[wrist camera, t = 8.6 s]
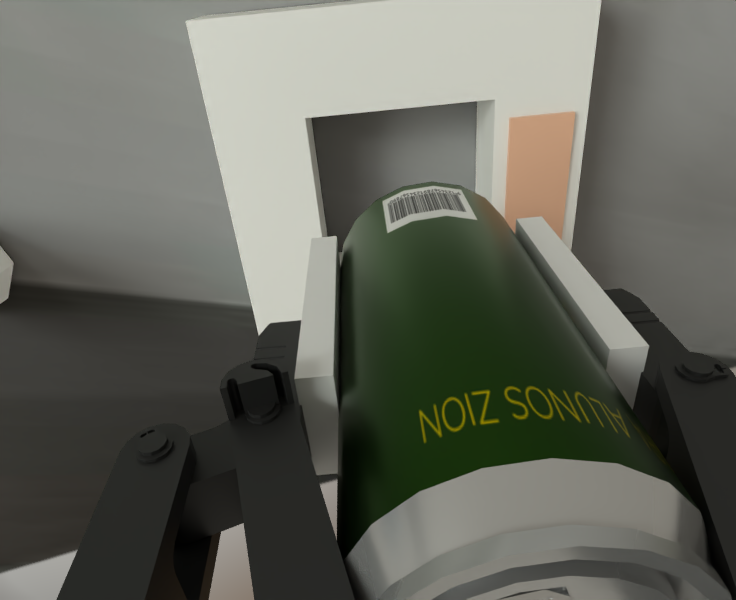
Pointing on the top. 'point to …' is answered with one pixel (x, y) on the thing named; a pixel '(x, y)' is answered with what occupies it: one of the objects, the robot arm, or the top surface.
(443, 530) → the beer can
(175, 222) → the top surface
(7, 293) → the salt shaker
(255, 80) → the socket block
